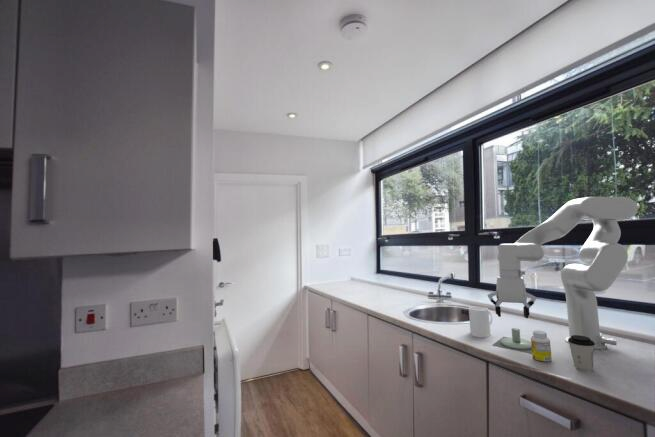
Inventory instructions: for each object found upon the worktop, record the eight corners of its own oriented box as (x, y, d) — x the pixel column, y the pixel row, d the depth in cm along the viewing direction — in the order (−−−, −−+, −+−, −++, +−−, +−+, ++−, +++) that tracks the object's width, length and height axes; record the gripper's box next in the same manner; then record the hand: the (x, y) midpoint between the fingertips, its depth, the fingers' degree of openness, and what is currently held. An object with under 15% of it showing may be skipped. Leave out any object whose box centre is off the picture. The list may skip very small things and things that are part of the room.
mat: (542, 345, 123) (542, 343, 123) (532, 355, 113) (532, 353, 113) (503, 338, 133) (503, 336, 133) (491, 346, 123) (491, 345, 123)
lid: (536, 343, 123) (535, 328, 123) (528, 351, 115) (527, 335, 116) (506, 338, 131) (505, 323, 131) (497, 345, 123) (495, 329, 124)
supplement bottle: (535, 357, 111) (532, 328, 112) (553, 361, 107) (551, 331, 108) (530, 362, 108) (528, 332, 108) (550, 366, 104) (547, 335, 104)
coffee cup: (603, 372, 98) (600, 340, 98) (583, 374, 97) (580, 341, 98) (583, 363, 104) (580, 333, 105) (564, 365, 104) (561, 335, 105)
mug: (487, 330, 144) (484, 304, 144) (501, 336, 136) (499, 308, 136) (465, 333, 141) (463, 307, 141) (479, 339, 132) (477, 311, 133)
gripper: (531, 273, 126) (533, 315, 125) (484, 272, 131) (486, 313, 130) (538, 275, 119) (540, 320, 118) (488, 274, 124) (490, 317, 123)
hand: (512, 316), depth 124 cm, fingers open, 9 cm apart
